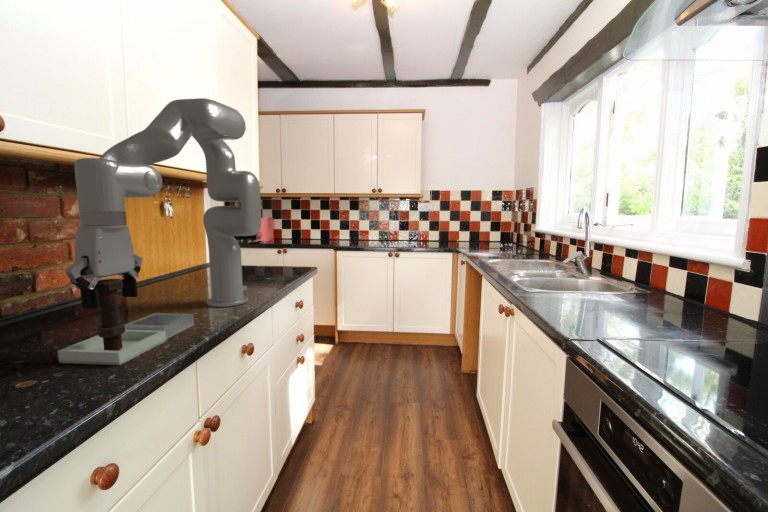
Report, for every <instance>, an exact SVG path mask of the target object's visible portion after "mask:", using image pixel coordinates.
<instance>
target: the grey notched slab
mask: <svg viewBox="0 0 768 512" xmlns="http://www.w3.org/2000/svg"><path fill="white" fill-rule="evenodd" d="M124 325H125V330H150V331H165V333H166V340H169V338H172V337H174V336H176V335H177V334H179V333H181V332H183V331H186V330H187V329H189V328H191V327H194V326H195V318H194V314H193V313H173V312H172V313H165V312H164V313H163V312H161V313H160V312H153V313H151V314H148V315H146V316H144V317H140V318H138V319H135V320H133V321H130V322H127V323H125V324H124Z"/></svg>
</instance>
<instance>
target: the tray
mask: <svg viewBox="0 0 768 512" xmlns="http://www.w3.org/2000/svg"><path fill="white" fill-rule="evenodd" d="M121 337H122V339H121V340H122V346H123V347H122V349H120V350H119V351H109V350H105V349H104V345H103V344H104V343H103V341H104V340H103V338H102V337H99V336H98V334H97V335H95V336H91V337H89V338H87V339H84V340H82V341H79V342H76V343H74V344H72V345H69V346H67V347H63V348H61V349H59V350H57V358H58V363H59V364H75V365H76V364H81V365H102V366H103V365H105V366H106V365H107V366H122V365H123V364H126V363H127V362H129V361H131V360H132V359H135V358H137V357H139V356H141V355H142V353H143V354H144V352H145V353H146V351H147V352H148V351H150V350H153V349H154V348H156V347H158V346H160V345H162V344H164V343H166V342H167V339H166V333H165V331H150V330H125V332H124V333H123V334H121ZM140 354H141V355H140Z"/></svg>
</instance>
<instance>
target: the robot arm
mask: <svg viewBox="0 0 768 512" xmlns="http://www.w3.org/2000/svg"><path fill="white" fill-rule="evenodd" d="M246 128H247V126H246V122H245V119H244V117H243V115H242V114H241V113H240V112H239V110H238V109H235V108H233V107H230V106H229V105H226V104H223V103H222V102H219V101H216V100H213V99H210V98H204V97H203V98H201V97H199V98H183V99H181V98H180V99H179V98H178V99H175V100H172V101H169V102H168V103H167V104H166V105H165V106H164V107H163V109H162V110H160V112H159V113H158V114H157V115H156V116H155V118H154V119H153V120H152V121H151V122H150V123H149V124H148V126H147V127H145V128H144V129H143V130H141V131H139V132H137V133H134V134H133V135H131V136H128V137H127V138H125V139H123V140H121V141H119V142H117V143H116V144H114V145H113V146H111V147H110V148H108V149H107V150H106V151H105V152H103V153H102V155H101V156H100V157H99V158H97V157H83V158H78V159H77V160H76V161H75V162H74V177H75V186H76V195H77V204H78V216H79V225H80V228H77V229H76V233H75V241H74V263H72V264H71V265H69V266H68V267H67V268H65V270H64V272H65V274H66V275H67V277H68V279H70V283H72V284H73V285H74V286H75V287H76V289H77V290H80V300H81V308H82V309H84V310H85V309H86V310H87V309H89V310H97V309H99V308H100V304H99V295H98V289H97V288H94V287H95V285H96V284H97V282H98V280H100V279H101V278H106V277H107V278H108V277H113V276H116V275H117V276H119V275H120V276H121V277H122V278H120V279H121V280H122V282H123V287H122V288H121V295H122V297H123V298H137V297H138V296H139V294H138V293H139V292H138V284H137V279H138V278H139V274H140V271H141V270H142V268H141V267H142V263H143V257H142V256H138V255H137V254H135V253H134V245H133V242H132V241H133V240H132V236H131V233H130V229H129V227H128V223H127V220H128V217H127V213H126V212H127V211H126V203H125V198H133V199H134V198H150V197H153V196H155V195H157V194H159V192H160V190H161V189H162V186H163V177H162V176H161V174H160V172H159V171H158V170H157V169H156V168H155V167H154V166H151V165H154V164H158V163H161V162H164V161H167V160H169V159H172V158H174V157H176V156H178V155H179V154H180V152H181V151H182V150H183V148H184V147H185V145H186V144H187V143H188V142H189V140H190V139H191V137H192V138H193V139H194V140H195V141H196V143H197V144H198V145H199V147H200V148H201V150H202V152H203V154H204V158H205V169H206V170H205V171H206V186H207V187H206V188H207V194H208V196H209V198H210V199H211V200H213V201H215V202H223V203H226V202H229V203H231V202H234V203H236V202H237V203H239V202H240V205H215V206H212V207H210V208H208V209H207V210H206V211H205V212H204V214H203V217H202V218H203V219H202V220H203V221H202V222H203V227H204V230H205V234H206V238H207V239H206V240H207V244H208V257H209V258H208V260H209V261H208V262H209V274H210V277H209V278H210V289H211V292H210V293H211V297H210V298H208V299H207V300H206V305H207V306H208V307H213V308H214V307H215V308H216V307H217V308H225V307H232V306H233V307H234V306H239V305H242V304H247V302H248V301H249V296H247V295H244V292H246V291H247V290H248V286H246V285H243V269H242V265H243V264H242V250H241V246H240V244H239V242H238V240H237V239H236V238H235V237H248V236H249V237H250V236H251V237H252V236H256V235H257V234H258V233H259V232H260V230H261V225H262V210H261V209H262V206H261V204H262V203H261V201H262V200H261V198H262V197H261V187H260V181H259V179H258V177H257V176H256V175H255V174H254V173H252V172H251V171H247V170H237V169H236V159H235V158H236V156H235V154H234V152H233V150H232V149H231V148H230V146H229V145H228V143H227V142H226V140H227V141H231V140H232V141H234V140H239V139H242V137H244V135H245V132H246Z"/></svg>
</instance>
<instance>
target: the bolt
mask: <svg viewBox="0 0 768 512" xmlns="http://www.w3.org/2000/svg"><path fill="white" fill-rule="evenodd" d="M121 279H122V278H107V279H99V280H98V282H97V284H96V285H95V287H94V288H97V289H98V295H99V305H100V307H99V308H98V309H99V315H100V323H101V324H100V326H98V327H97V329H96V331H97V335H98V336H99V337H102V338H103V340H104V341H103V343H104V344H103V345H104V349H105V350H109V351H119V350H120V349H122V347H123V346H122V340H121V339H122V337H121V334H123V333H124V332H125V324H124V323H123V322H121V321H120V320H121V318H120V309H119V300H118V294H119V293H118V292H119V291H118V290H119V289H122V287H123V282H122V280H121Z"/></svg>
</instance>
